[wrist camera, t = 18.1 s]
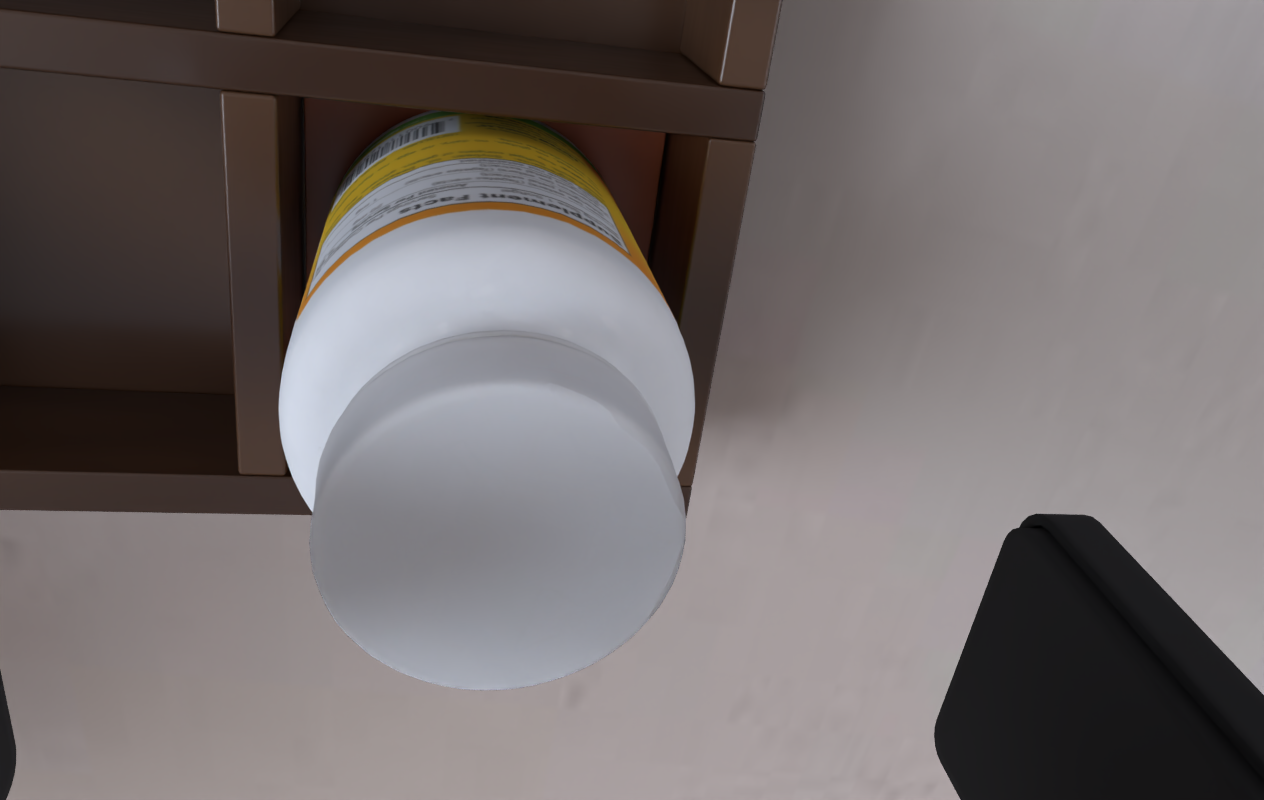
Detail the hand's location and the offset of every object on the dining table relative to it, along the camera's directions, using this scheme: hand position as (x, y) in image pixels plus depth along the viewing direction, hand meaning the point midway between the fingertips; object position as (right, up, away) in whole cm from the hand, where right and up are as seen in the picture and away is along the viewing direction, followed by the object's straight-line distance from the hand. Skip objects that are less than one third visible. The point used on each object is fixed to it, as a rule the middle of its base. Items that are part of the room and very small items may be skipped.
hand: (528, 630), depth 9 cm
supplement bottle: (-2, +5, +10) cm, 11 cm away
